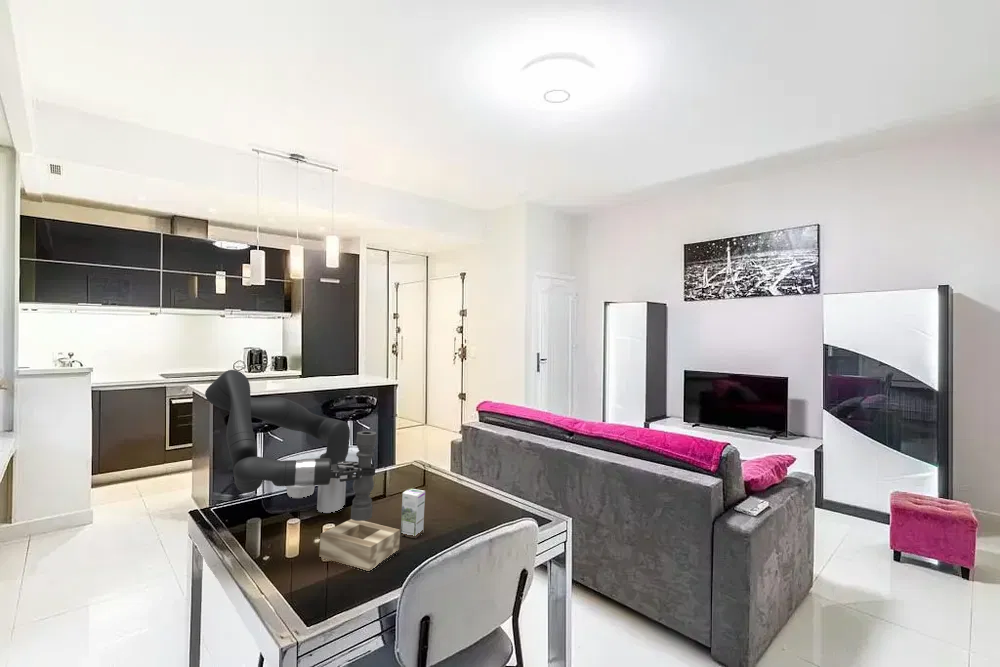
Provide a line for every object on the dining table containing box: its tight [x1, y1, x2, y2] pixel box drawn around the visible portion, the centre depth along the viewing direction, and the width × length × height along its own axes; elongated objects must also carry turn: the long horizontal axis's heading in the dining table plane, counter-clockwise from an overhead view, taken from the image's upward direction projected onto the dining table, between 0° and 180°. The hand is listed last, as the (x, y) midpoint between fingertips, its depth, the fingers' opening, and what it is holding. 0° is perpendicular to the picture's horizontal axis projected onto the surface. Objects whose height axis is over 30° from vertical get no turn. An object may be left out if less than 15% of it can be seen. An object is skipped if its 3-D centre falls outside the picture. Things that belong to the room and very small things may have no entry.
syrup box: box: [400, 488, 426, 536], centre depth 158 cm, size 6×6×14 cm
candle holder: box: [350, 430, 377, 521], centre depth 142 cm, size 6×6×25 cm
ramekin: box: [285, 486, 316, 499], centre depth 191 cm, size 11×11×5 cm
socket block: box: [318, 518, 401, 571], centre depth 141 cm, size 14×18×7 cm
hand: (373, 469), depth 143 cm, fingers closed on candle holder, 3 cm apart
